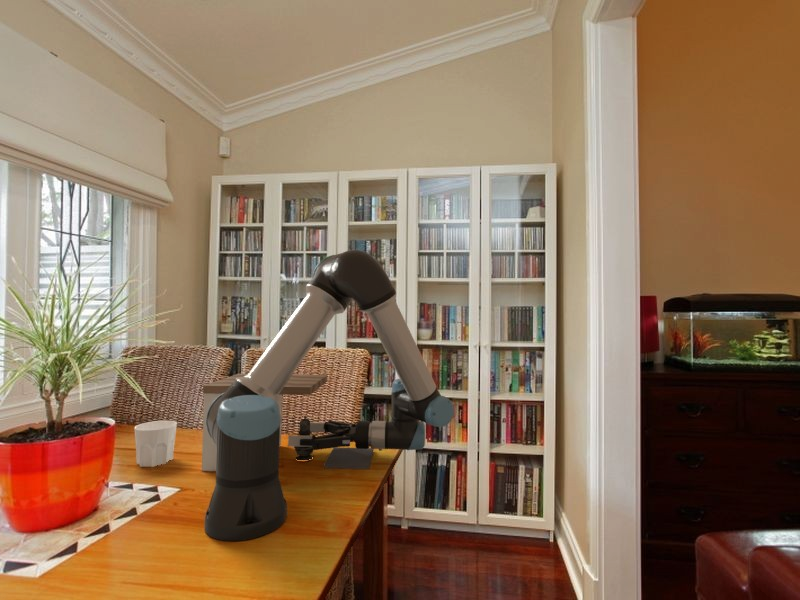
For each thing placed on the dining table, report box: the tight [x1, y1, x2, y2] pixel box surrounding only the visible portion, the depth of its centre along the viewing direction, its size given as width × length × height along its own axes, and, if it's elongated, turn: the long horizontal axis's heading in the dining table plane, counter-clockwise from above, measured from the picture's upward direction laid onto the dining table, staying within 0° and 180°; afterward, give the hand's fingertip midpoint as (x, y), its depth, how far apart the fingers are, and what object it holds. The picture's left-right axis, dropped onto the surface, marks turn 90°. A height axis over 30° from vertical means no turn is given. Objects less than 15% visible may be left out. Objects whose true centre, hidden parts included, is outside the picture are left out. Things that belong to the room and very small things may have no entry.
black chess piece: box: [293, 415, 314, 460], centre depth 116 cm, size 6×6×12 cm
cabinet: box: [201, 373, 328, 472], centre depth 117 cm, size 22×28×22 cm
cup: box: [133, 420, 178, 468], centre depth 112 cm, size 10×10×10 cm
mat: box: [323, 447, 375, 470], centre depth 116 cm, size 14×12×1 cm
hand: (295, 433), depth 116 cm, fingers open, 13 cm apart
